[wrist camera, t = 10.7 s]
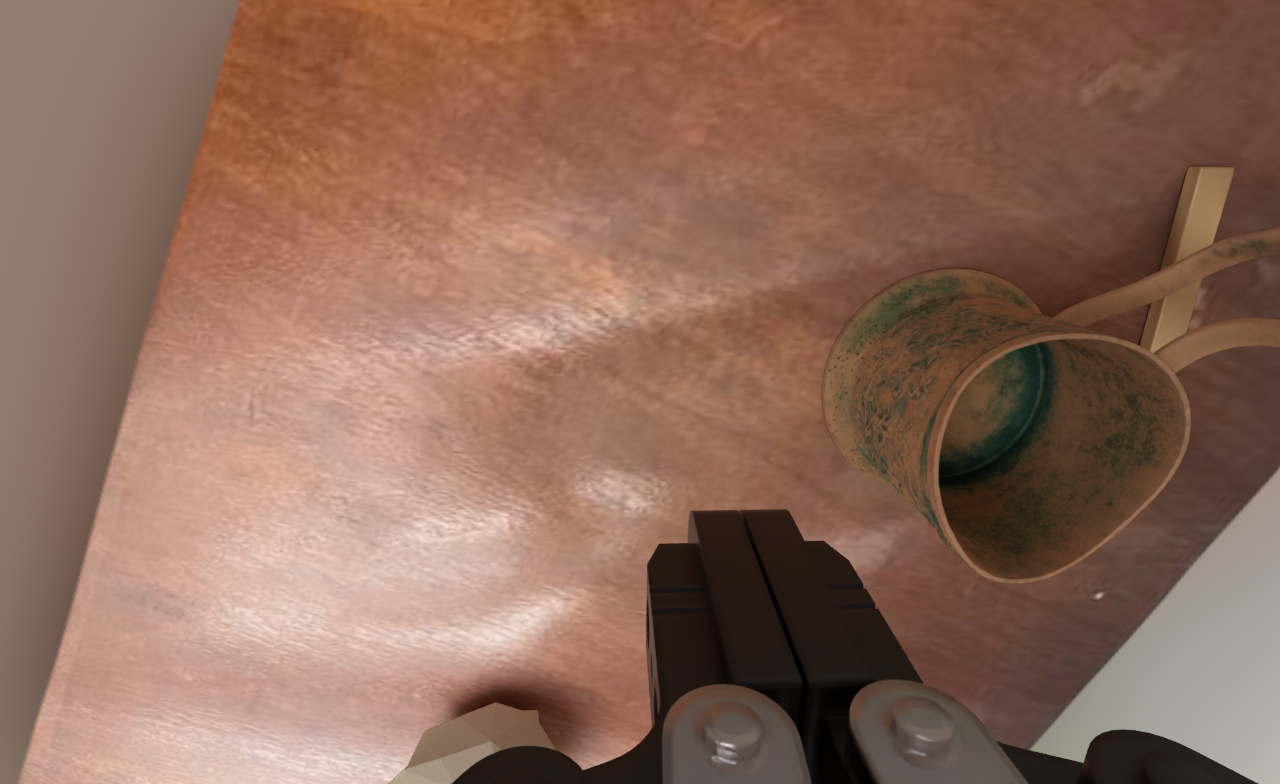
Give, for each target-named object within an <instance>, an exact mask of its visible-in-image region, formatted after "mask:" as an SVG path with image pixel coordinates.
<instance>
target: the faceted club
mask: <svg viewBox="0 0 1280 784" xmlns="http://www.w3.org/2000/svg"><path fill="white" fill-rule="evenodd" d="M518 746H540V747H546V748H550V749H553V750H555V748H554V746H553V744H552V743H551V741H550V739H549V738H548V736H547V735H546V733H545V731H544V730H543V728H542V727H541V725H540V723H539V715H538V710H524V711H522V710H519V709H516V708H512V707H509V706H506V705H503V704H499V703H493V704H490V705H488V706H485V707H482V708H479V709H477V710H474V711H472V712H469V713H467V714H465V715H462V716H460V717H457V718H455V719H452V720H450V721H447V722H445V723H442V724H440V725H437V726H435V727H433V728H430V729H428V730H425V731H424V733H423V735H422V737H421V739H420V741H419V743H418V746H417V748H416V750H415V752H414V754H413V756H412V758H411V760H410V762H409V764H408V766H407V767H406V768H405V769H404V770H403V771H402V772H401V773H399V774H398V775H397V776H396V777H395V778H394V779H393V780H392V781H390V782H389V783H388V784H452V783H453V782H454V781H455V780H456V779H457V778H458V777H459V776H460V775H462V774H463V773H464V772H465V771H466V770H467V769H469V768H470V767H471V766H472V765H474V764H475V763H476V762H478V761H480V760H481V759H483V758H485V757H486V756H488V755H491V754H493V753H495V752H498V751H500V750H504V749H508V748H511V747H518Z"/></svg>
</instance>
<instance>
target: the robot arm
mask: <svg viewBox="0 0 1280 784" xmlns="http://www.w3.org/2000/svg"><path fill="white" fill-rule="evenodd" d="M646 654H647V667H648V680H649V693H650V706H651V719H652V729H651V730H650V732H649V734H648V735H647V736H646V737H645V738H644V739H643V740H642V741H641V742H640V743H639V744H638V745H637V746H636V747H634V748H633V749H632V750H630V751H629V752H627V753H625V754H624V755H622V756H620V757H618V758H615V759H613V760H611V761H608V762H605V763H603V764H600V765H597V766H594V767H591V768H588V769H586V770H582V769H581V768H580V766H579V765H578V764H577V763H575V762H574V761H573V760H572V759H571V758H569V757H568V756H566V755H564V754H562V753H561V752H558V751H556V750H553V749H550V748H546V747H540V746H518V747H511V748H508V749H504V750H500V751H498V752H495V753H493V754H491V755H488V756H486V757H485V758H483V759H481V760H480V761H478V762H476V763H475V764H474V765H472V766H471V767H470V768H469V769H467V770H466V771H465V772H464V773H463V774H462V775H460V776H459V777H458V778H457V779H456V780H455V781H454V782H453V783H452V784H1258V783H1255V782H1254V781H1252V780H1250V779H1248V778H1246V777H1244V776H1242V775H1240V774H1238V773H1236V772H1234V771H1233V770H1231V769H1229V768H1227V767H1225V766H1223V765H1221V764H1219V763H1217V762H1215V761H1213V760H1211V759H1209V758H1207V757H1206V756H1204V755H1202V754H1200V753H1198V752H1196V751H1194V750H1192V749H1190V748H1188V747H1186V746H1184V745H1181V744H1179V743H1177V742H1175V741H1172V740H1169V739H1166V738H1164V737H1160V736H1157V735H1154V734H1151V733H1146V732H1141V731H1136V730H1111V731H1108V732H1104V733H1102V734H1100V735H1098V736H1097V737H1095V738H1094V739H1093V740H1092V742H1091V743H1090V745H1089V748H1088V750H1087V754H1086V757H1085V760H1084V763H1081V762H1077V761H1073V760H1068V759H1064V758H1060V757H1055V756H1051V755H1047V754H1043V753H1039V752H1034V751H1030V750H1026V749H1022V748H1017V747H1014V746H1010V745H1007V744H1003V743H1001V742H998V741H996V740H995V739H994V738H993V736H992V735H991V734H990V732H989V731H988V730H987V728H986V727H985V726H984V724H983V723H982V722H981V721H980V720H979V719H978V717H977V716H976V715H975V714H974V713H973V712H971V711H970V710H969V709H968V708H967V707H966V706H964V705H963V704H962V703H960V702H959V701H958V700H956V699H955V698H953V697H951V696H949V695H948V694H946V693H944V692H942V691H940V690H938V689H936V688H933V687H930V686H928V685H925V684H923V682H922V680H921V679H920V677H919V675H918V674H917V672H916V670H915V669H914V667H913V666H912V664H911V662H910V661H909V659H908V657H907V656H906V654H905V652H904V651H903V649H902V647H901V646H900V644H899V642H898V641H897V639H896V637H895V636H894V634H893V632H892V631H891V629H890V628H889V626H888V624H887V623H886V621H885V619H884V618H883V616H882V614H881V613H880V611H879V609H876V608H875V603H874V601H873V599H872V598H871V596H870V594H869V593H868V591H867V590H866V589H864V588H863V583H862V581H861V580H860V578H859V576H858V575H857V573H856V571H855V570H854V568H853V566H852V565H851V563H850V561H849V560H848V559H846V558H845V557H844V556H842V555H841V554H840V553H839V552H837V551H836V550H835V549H833V548H832V547H831V546H830V545H828V544H827V543H826V542H824V541H804V539H803V537H802V535H801V533H800V531H799V529H798V527H797V526H796V524H795V522H794V520H793V518H792V516H791V514H790V512H789V511H788V510H786V509H772V510H740V511H739V512H738V511H737V510H714V511H691V512H690V515H689V524H688V543H677V544H659V545H658V547H657V548H656V550H655V552H654V554H653V555H652V557H651V559H650V560H649V562H648V564H647V613H646Z"/></svg>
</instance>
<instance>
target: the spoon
mask: <svg viewBox="0 0 1280 784" xmlns="http://www.w3.org/2000/svg"><path fill="white" fill-rule="evenodd" d="M1234 170H1235V168H1233V167H1189V168H1188V169H1187V173H1186V177H1185V180H1184V184H1183V188H1182V191H1181V195H1180V199H1179V202H1178V206H1177V210H1176V213H1175V217H1174V221H1173V224H1172V228H1171V232H1170V235H1169V239H1168V243H1167V246H1166V250H1165V254H1164V257H1163V261H1162V265H1161V268H1160V271H1161V270H1162V269H1164V268H1166V267H1168V266H1170V265H1172V264H1174V263H1176V262H1178V261H1180V260H1181V259H1183V258H1185V257H1187V256H1189V255H1191V254H1193V253H1195V252H1197V251H1199V250H1201V249H1203V248H1205V247H1207V246H1209V245H1211V244H1213V241H1214V238H1215V234H1216V231H1217V228H1218V224H1219V221H1220V217H1221V214H1222V211H1223V207H1224V204H1225V200H1226V197H1227V194H1228V190H1229V187H1230V183H1231V180H1232V177H1233V173H1234ZM1201 282H1202V279H1201V280H1199V281H1197V282H1195V283H1193V284H1191V285H1189V286H1187V287H1185V288H1183V289H1181V290H1179V291H1177V292H1175V293H1173V294H1171V295H1169V296H1167V297H1164V298H1162V299H1160V300H1157V301H1155V302H1152V303H1151V305H1150V309H1149V312H1148V316H1147V320H1146V323H1145V327H1144V331H1143V334H1142V338H1141V342H1140V345H1139V346H1141V347H1143V348H1145V349H1147V350H1148V351H1150V352H1152V353H1154V352H1155V351H1157V350H1158V349H1160V348H1161V347H1162V346H1164V345H1166V344H1167V343H1169V342H1170V341H1172V340H1174V339H1175V338H1177V337H1179V336H1181V335H1183V334H1185V333H1187V329H1188V326H1189V322H1190V319H1191V316H1192V312H1193V309H1194V305H1195V302H1196V299H1197V295H1198V292H1199V288H1200V285H1201Z"/></svg>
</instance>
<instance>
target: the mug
mask: <svg viewBox="0 0 1280 784" xmlns="http://www.w3.org/2000/svg"><path fill="white" fill-rule="evenodd" d="M1276 254H1280V227H1274V228H1267V229H1262V230H1257V231H1252V232H1248V233H1243V234H1240V235H1237V236H1233V237H1230V238H1227V239H1224V240H1222V241H1219V242H1217V243H1214V244H1211V245H1209V246H1207V247H1205V248H1203V249H1201V250H1199V251H1197V252H1195V253H1193V254H1191V255H1189V256H1187V257H1185V258H1183V259H1181V260H1180V261H1178V262H1176V263H1174V264H1172V265H1170V266H1168V267H1166V268H1164V269H1162V270H1161V271H1159V272H1157V273H1155V274H1153V275H1150V276H1148V277H1146V278H1144V279H1141V280H1139V281H1137V282H1134V283H1132V284H1129V285H1127V286H1124V287H1121V288H1118V289H1116V290H1113V291H1110V292H1107V293H1104V294H1101V295H1098V296H1096V297H1093V298H1090V299H1088V300H1085V301H1082V302H1080V303H1077V304H1075V305H1073V306H1071V307H1069V308H1067V309H1066V310H1064V311H1062V312H1061V313H1059V314H1058V315H1056V316H1055V317H1053V318H1051V317H1049V316H1046V315H1043V314H1042V313H1041V312H1040V310H1039V309H1038V307H1037V306H1036V305H1035V303H1034V302H1033V301H1032V300H1031V299H1030V298H1029V297H1028V296H1027V295H1026V294H1025V293H1024V292H1023V291H1021V290H1020V289H1019V288H1017V287H1016V286H1015V285H1013V284H1011V283H1010V282H1008V281H1006V280H1004V279H1002V278H999V277H997V276H994V275H991V274H988V273H984V272H980V271H975V270H969V269H958V268H953V269H938V270H932V271H927V272H923V273H919V274H916V275H913V276H910V277H908V278H905V279H903V280H900V281H898V282H896V283H894V284H892V285H891V286H889V287H887V288H886V289H884V290H882V291H881V292H879V293H878V294H877V295H875V296H874V297H873V298H871V299H870V300H869V301H868V302H867V303H865V304H864V305H863V306H862V307H861V308H860V309H859V310H858V311H857V312H856V313H855V314H854V316H853V317H852V318H851V319H850V320H849V322H848V323H847V324H846V326H845V327H844V328H843V330H842V331H841V333H840V335H839V336H838V338H837V340H836V342H835V344H834V346H833V348H832V350H831V352H830V355H829V357H828V360H827V363H826V367H825V371H824V376H823V382H822V408H823V414H824V418H825V422H826V425H827V428H828V431H829V433H830V435H831V437H832V439H833V441H834V443H835V444H836V446H837V447H838V449H839V450H840V452H841V453H842V454H843V455H844V457H845V458H846V459H847V460H848V461H849V462H850V463H851V464H852V465H853V466H854V467H855V468H856V469H858V470H859V471H860V472H862V473H863V474H865V475H866V476H868V477H870V478H872V479H874V480H876V481H878V482H880V483H883V484H886V485H889V486H893V487H894V488H895V489H896V490H897V491H898V492H899V493H901V494H902V495H903V497H904V498H905V500H907V501H908V502H909V503H911V504H912V505H913V506H914V507H915V508H916V509H917V510H918V511H919V512H920V513H921V514H922V515H923V516H924V517H925V518H926V519H927V521H928V522H929V523H930V524H931V525H932V526H933V527H934V528H935V529H936V530H937V532H938V535H939V537H940V539H941V540H942V541H943V542H944V543H945V544H946V545H947V546H948V547H949V548H950V549H951V550H952V551H953V552H954V553H955V554H957V555H958V556H959V557H960V558H961V559H962V560H964V561H965V562H966V563H968V564H969V565H970V566H971V567H972V568H973V569H974V570H976V571H977V572H978V573H979V574H981V575H982V576H984V577H986V578H988V579H991V580H994V581H997V582H1002V583H1026V582H1033V581H1038V580H1042V579H1045V578H1049V577H1051V576H1054V575H1056V574H1058V573H1060V572H1062V571H1064V570H1066V569H1068V568H1070V567H1072V566H1073V565H1075V564H1076V563H1078V562H1079V561H1081V560H1082V559H1084V558H1085V557H1087V556H1088V555H1090V554H1091V553H1092V552H1094V551H1095V550H1096V549H1098V548H1099V547H1100V546H1102V545H1103V544H1104V543H1106V542H1107V541H1108V540H1109V539H1111V538H1112V537H1113V536H1114V535H1115V534H1116V533H1118V532H1119V531H1120V530H1121V529H1122V528H1123V527H1125V526H1126V525H1127V524H1128V523H1129V522H1130V521H1131V520H1132V519H1133V518H1134V517H1135V516H1136V515H1137V514H1138V513H1139V512H1141V511H1142V510H1143V509H1144V508H1145V507H1146V506H1147V505H1148V504H1149V503H1150V502H1151V501H1152V500H1153V499H1154V498H1155V497H1156V496H1157V495H1158V494H1159V493H1160V491H1161V490H1162V489H1163V488H1164V487H1165V485H1166V484H1167V483H1168V482H1169V480H1170V479H1171V478H1172V476H1173V475H1174V473H1175V471H1176V470H1177V468H1178V466H1179V465H1180V463H1181V460H1182V458H1183V456H1184V454H1185V451H1186V448H1187V445H1188V441H1189V437H1190V430H1191V412H1190V406H1189V401H1188V398H1187V395H1186V392H1185V390H1184V388H1183V386H1182V384H1181V383H1180V381H1179V379H1178V378H1177V376H1176V375H1175V373H1176V372H1178V371H1179V370H1181V369H1182V368H1184V367H1185V366H1187V365H1189V364H1190V363H1192V362H1194V361H1196V360H1198V359H1200V358H1202V357H1204V356H1207V355H1209V354H1212V353H1215V352H1218V351H1221V350H1225V349H1229V348H1234V347H1241V346H1258V345H1259V346H1274V347H1280V320H1278V319H1267V318H1243V319H1232V320H1226V321H1220V322H1216V323H1212V324H1208V325H1205V326H1202V327H1199V328H1197V329H1194V330H1192V331H1189V332H1187V333H1185V334H1183V335H1181V336H1179V337H1177V338H1175V339H1174V340H1172V341H1170V342H1169V343H1167V344H1166V345H1164V346H1162V347H1161V348H1160V349H1158V350H1157V351H1155V352H1154V353H1152V352H1150V351H1148V350H1147V349H1145V348H1143V347H1141V346H1139V345H1136V344H1134V343H1131V342H1129V341H1126V340H1123V339H1120V338H1117V337H1114V336H1111V335H1107V334H1103V333H1099V332H1096V331H1093V330H1090V329H1087V328H1084V327H1085V326H1087V325H1089V324H1091V323H1094V322H1097V321H1100V320H1103V319H1105V318H1108V317H1111V316H1115V315H1118V314H1121V313H1124V312H1127V311H1130V310H1133V309H1136V308H1139V307H1142V306H1145V305H1147V304H1150V303H1152V302H1155V301H1157V300H1160V299H1162V298H1164V297H1167V296H1169V295H1171V294H1173V293H1175V292H1177V291H1179V290H1181V289H1183V288H1185V287H1187V286H1189V285H1191V284H1193V283H1195V282H1197V281H1199V280H1201V279H1202V278H1205V277H1207V276H1209V275H1211V274H1213V273H1215V272H1217V271H1219V270H1222V269H1224V268H1226V267H1229V266H1232V265H1234V264H1237V263H1240V262H1244V261H1247V260H1251V259H1255V258H1260V257H1265V256H1271V255H1276Z"/></svg>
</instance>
